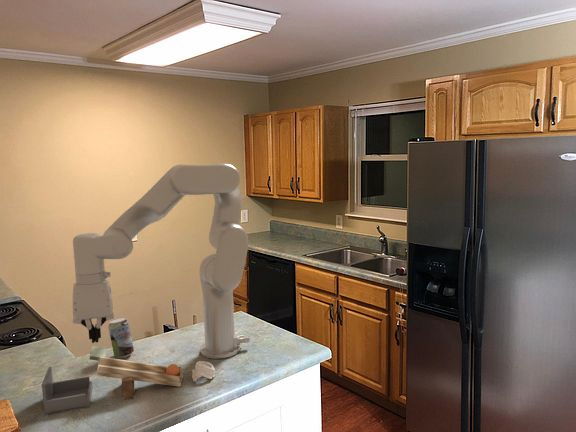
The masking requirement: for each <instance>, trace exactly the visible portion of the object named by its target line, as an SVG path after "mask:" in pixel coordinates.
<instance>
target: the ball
mask: <svg viewBox="0 0 576 432" xmlns="http://www.w3.org/2000/svg"><path fill="white" fill-rule="evenodd" d="M179 367H180V366H179V365H177V364H175V363H172V364H169V365H168V366H167V369H166V374H167V375H172V376H177V375H178V374H179Z"/></svg>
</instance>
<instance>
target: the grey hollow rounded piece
mask: <svg viewBox="0 0 576 432" xmlns="http://www.w3.org/2000/svg"><path fill="white" fill-rule="evenodd" d="M191 371H192V372H191V377H192V381H193V382H194V383H196V382H198V380H199V379H200V378H201V377H202V378H206V379H210V380H212V379H213V378H215V376H216V375H215V374H216V372H215V371H216V368H215V367H214V365H213V364H212V363H211V362H208V361H203V360H199V361H197V362H196V363H195V366H194V368H192V370H191Z"/></svg>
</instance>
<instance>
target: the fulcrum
mask: <svg viewBox="0 0 576 432" xmlns="http://www.w3.org/2000/svg"><path fill="white" fill-rule="evenodd" d="M121 393H122V394H121V395H122V398H123V401H129V400H130V401H131V400H134V396H135V381H134V380H132V377H131V378H125V379H121Z"/></svg>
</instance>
